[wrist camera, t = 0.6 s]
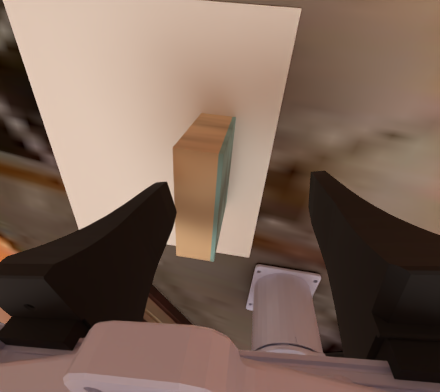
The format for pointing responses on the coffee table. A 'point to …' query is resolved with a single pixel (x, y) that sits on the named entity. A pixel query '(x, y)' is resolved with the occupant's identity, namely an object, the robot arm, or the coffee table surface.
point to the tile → (202, 184)
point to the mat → (155, 94)
